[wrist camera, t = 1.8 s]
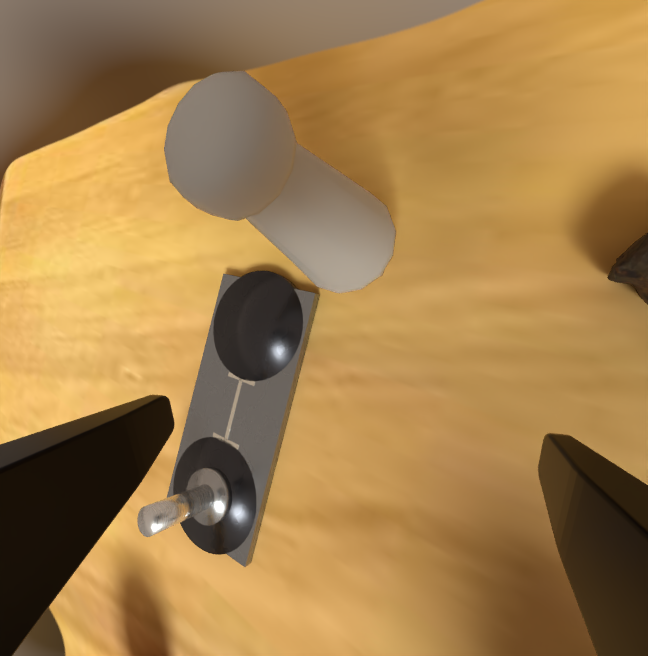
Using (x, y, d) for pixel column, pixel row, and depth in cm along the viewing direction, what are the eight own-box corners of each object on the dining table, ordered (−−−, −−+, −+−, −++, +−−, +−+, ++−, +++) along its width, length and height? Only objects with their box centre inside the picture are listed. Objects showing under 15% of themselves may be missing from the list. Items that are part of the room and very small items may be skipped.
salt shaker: (302, 259, 24) (111, 155, 12) (360, 190, 22) (206, -1, 11) (358, 319, 21) (188, 259, 10) (426, 246, 20) (321, 78, 8)
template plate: (247, 574, 23) (241, 579, 22) (168, 516, 27) (161, 519, 26) (322, 282, 23) (318, 280, 22) (231, 265, 27) (226, 263, 26)
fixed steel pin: (224, 532, 23) (159, 569, 19) (188, 507, 25) (120, 536, 21) (237, 479, 23) (175, 505, 19) (200, 458, 25) (135, 477, 21)
